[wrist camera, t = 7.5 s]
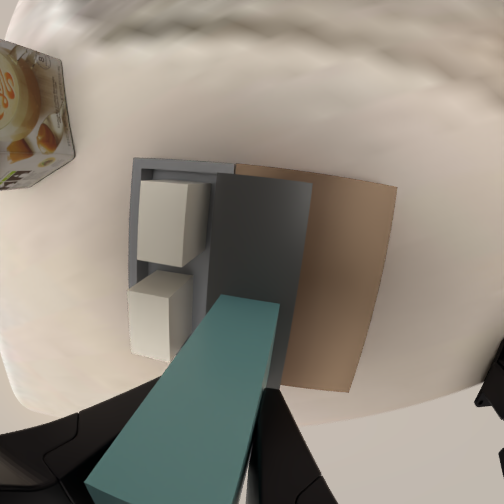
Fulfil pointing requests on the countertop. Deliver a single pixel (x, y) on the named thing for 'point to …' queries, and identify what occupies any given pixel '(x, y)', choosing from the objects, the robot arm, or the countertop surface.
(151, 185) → the tile
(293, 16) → the countertop surface
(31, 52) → the coffee box
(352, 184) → the walnut board
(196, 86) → the countertop surface
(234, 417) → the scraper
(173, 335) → the tile
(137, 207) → the box
